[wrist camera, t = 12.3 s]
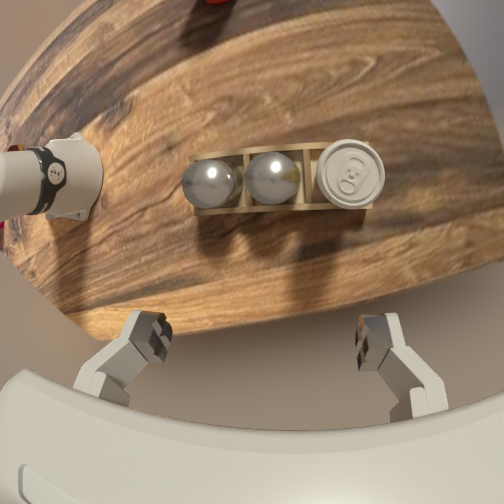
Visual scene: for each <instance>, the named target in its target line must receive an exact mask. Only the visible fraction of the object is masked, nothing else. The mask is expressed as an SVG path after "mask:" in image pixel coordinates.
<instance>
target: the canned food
mask: <svg viewBox="0 0 504 504" xmlns="http://www.w3.org/2000/svg"><path fill="white" fill-rule="evenodd" d="M201 1H203V2H205V3H207V4H213V5H215V4H222V3H225V2H228V1H230V0H201Z"/></svg>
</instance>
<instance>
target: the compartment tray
mask: <svg viewBox="0 0 504 504" xmlns="http://www.w3.org/2000/svg"><path fill="white" fill-rule="evenodd" d="M333 143H335V142H322V143H300V144H285V145H272V146H261V147H251V148H242V149H234V150H226V151H219V152H212V153H205V154H199V155H193V156H189V163H190V165H192V164H193V163H194V162H196V161H199V160H204V159H207V160H216V161H223V162H229V163H232V164H234V165H235V166H237V167H238V168H239V169H240V171H241V172H242V175H243V178H244V186H243V190H242V192H241V194H240V195H239V196H238V198H236V199H235V200H234V201H231V202H229V203H225V204H222V205H219V206H216V207H213V208H209V209H202V208H198V207H196V206H194V215H195V216H201V215H215V214H230V213H247V212H267V211H289V210H319V209H345V208H341V207H339V206H336V205H335V204H333V203H332V202H330V201H329V200H328V199H327V198H326V197H325V196H324V194H323V193H322V191H321V190H320V188H319V185H318V182H317V177H316V168H317V163H318V160H319V158H320V156H321V154H322V153H323V151H324V150H325V149H326V148H327V147H328V146H330V145H331V144H333ZM363 143H365V144H367V145H368V146H369V142H363ZM265 152H277V153H280V154H283V155H285V156H286V157H288V158H289V159H291V160H292V161H293V162H294V163H295V164H296V165H297V166H298V168H299V170H300V173H301V184H300V187H299V189H298V190H297V192H296V193H295V194H294V195H292V196H291V197H290V198H288V199H287V200H285V201H284V202H281V203H278V204H265V203H262V202H259V201H258V200H256V199H255V198H254V197H253V196H252V195H251V194H250V193H249V191H248V189H247V187H246V184H245V172H246V169H247V166H248V164H249V163H250V162H251V160H252V159H253V158H255V157H256V156H257V155H259V154H262V153H265ZM360 209H373V205H372V203H371V204H369V205H368V206H366V207H363V208H360Z"/></svg>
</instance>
